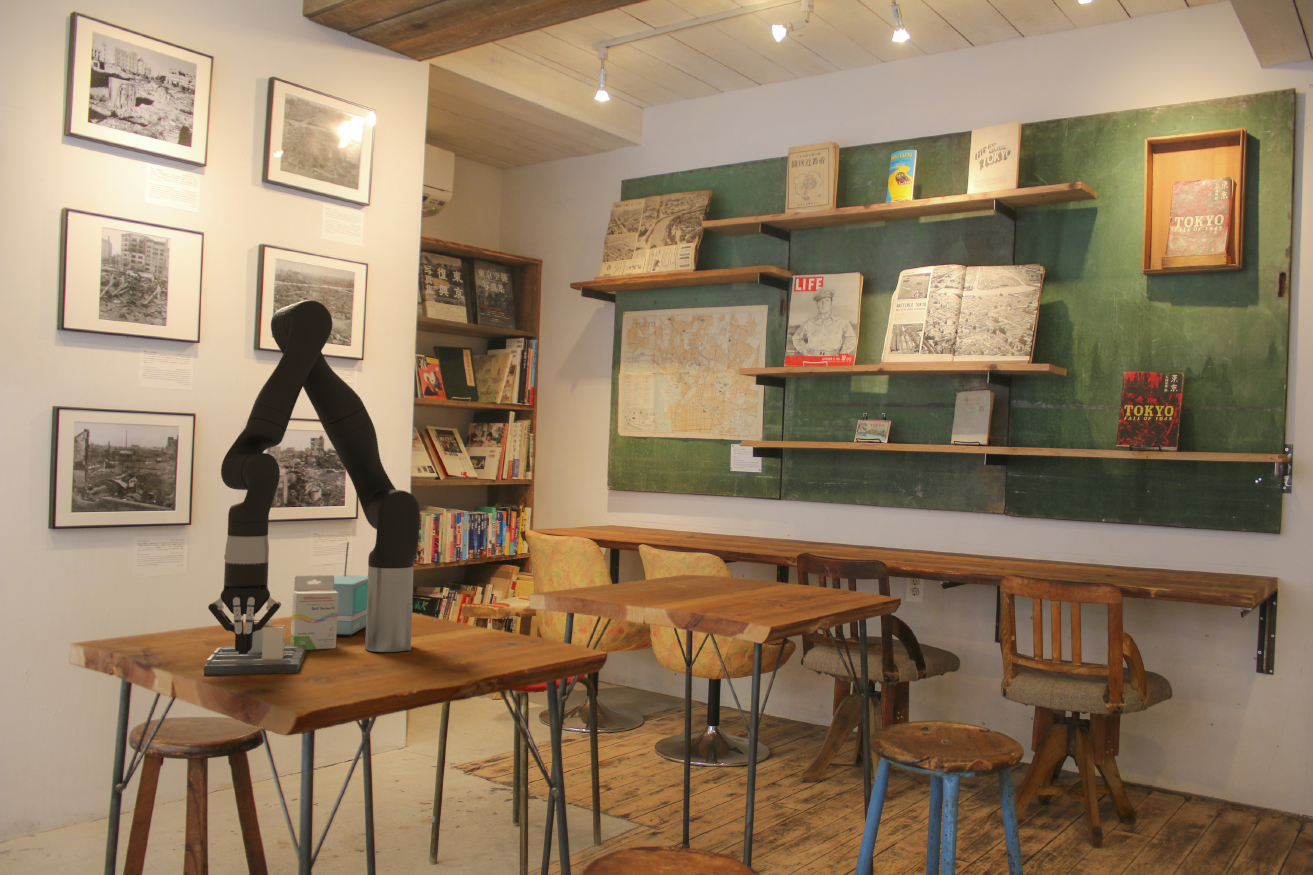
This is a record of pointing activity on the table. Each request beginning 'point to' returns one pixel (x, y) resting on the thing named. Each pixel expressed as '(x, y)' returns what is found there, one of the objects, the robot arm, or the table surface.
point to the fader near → (273, 642)
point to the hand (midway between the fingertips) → (243, 653)
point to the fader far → (258, 638)
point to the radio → (351, 602)
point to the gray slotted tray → (253, 661)
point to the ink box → (314, 612)
